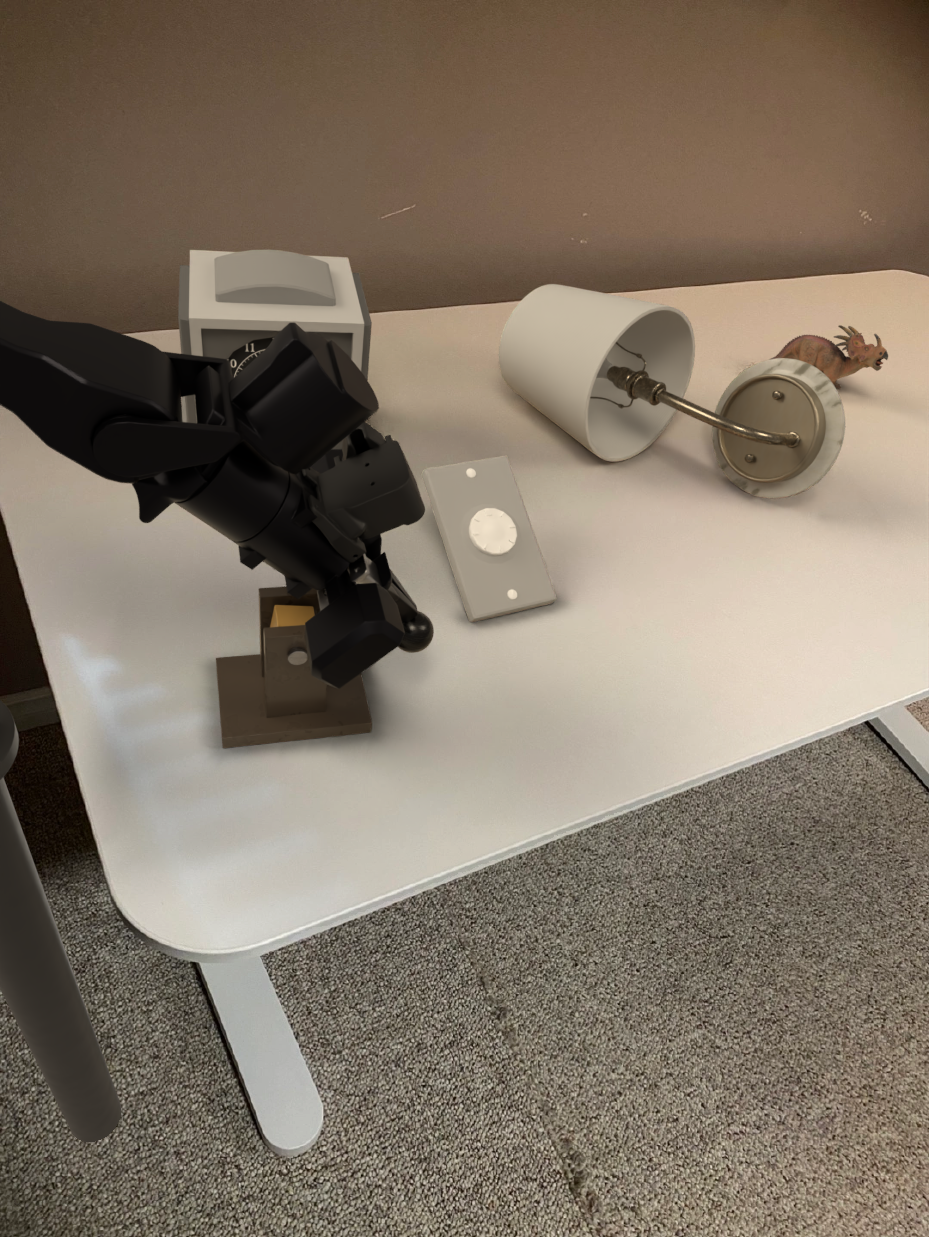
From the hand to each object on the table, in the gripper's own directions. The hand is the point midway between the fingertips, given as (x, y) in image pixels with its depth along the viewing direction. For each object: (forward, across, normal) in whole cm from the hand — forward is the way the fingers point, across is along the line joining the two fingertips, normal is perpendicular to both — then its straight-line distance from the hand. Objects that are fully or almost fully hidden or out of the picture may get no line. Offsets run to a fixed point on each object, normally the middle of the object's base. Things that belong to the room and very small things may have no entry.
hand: (413, 614), depth 69 cm
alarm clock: (+1, +35, +11) cm, 37 cm away
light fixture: (+30, +30, -17) cm, 46 cm away
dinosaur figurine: (+50, +44, -38) cm, 76 cm away
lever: (-1, 0, +5) cm, 5 cm away
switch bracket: (0, 0, +12) cm, 12 cm away
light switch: (+13, +14, -1) cm, 19 cm away
